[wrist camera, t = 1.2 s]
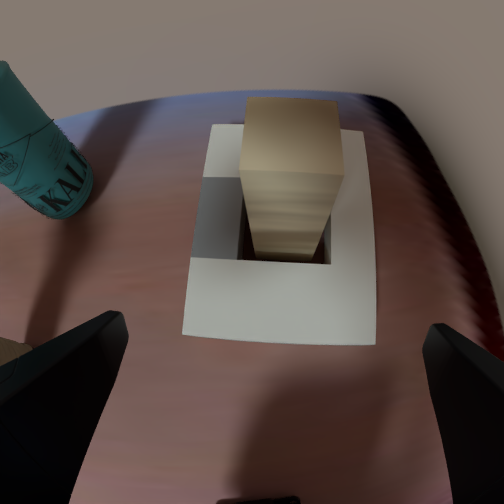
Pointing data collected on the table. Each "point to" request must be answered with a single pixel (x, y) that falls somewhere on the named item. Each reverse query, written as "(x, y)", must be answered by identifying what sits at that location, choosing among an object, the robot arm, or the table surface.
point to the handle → (12, 350)
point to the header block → (281, 273)
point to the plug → (290, 173)
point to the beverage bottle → (38, 154)
